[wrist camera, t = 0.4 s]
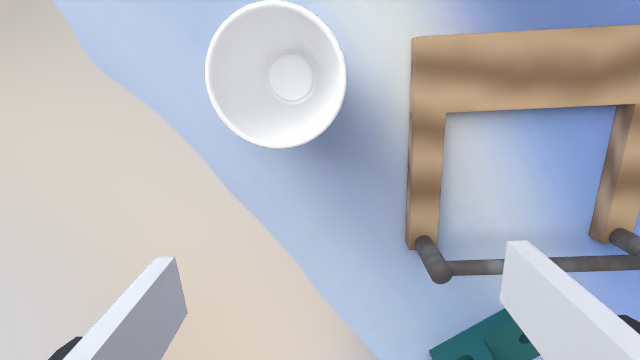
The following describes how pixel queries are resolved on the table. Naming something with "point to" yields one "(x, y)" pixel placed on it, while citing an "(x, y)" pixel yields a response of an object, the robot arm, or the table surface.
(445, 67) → the wooden frame with crossbar
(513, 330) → the bracket
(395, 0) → the table surface
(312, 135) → the cup
